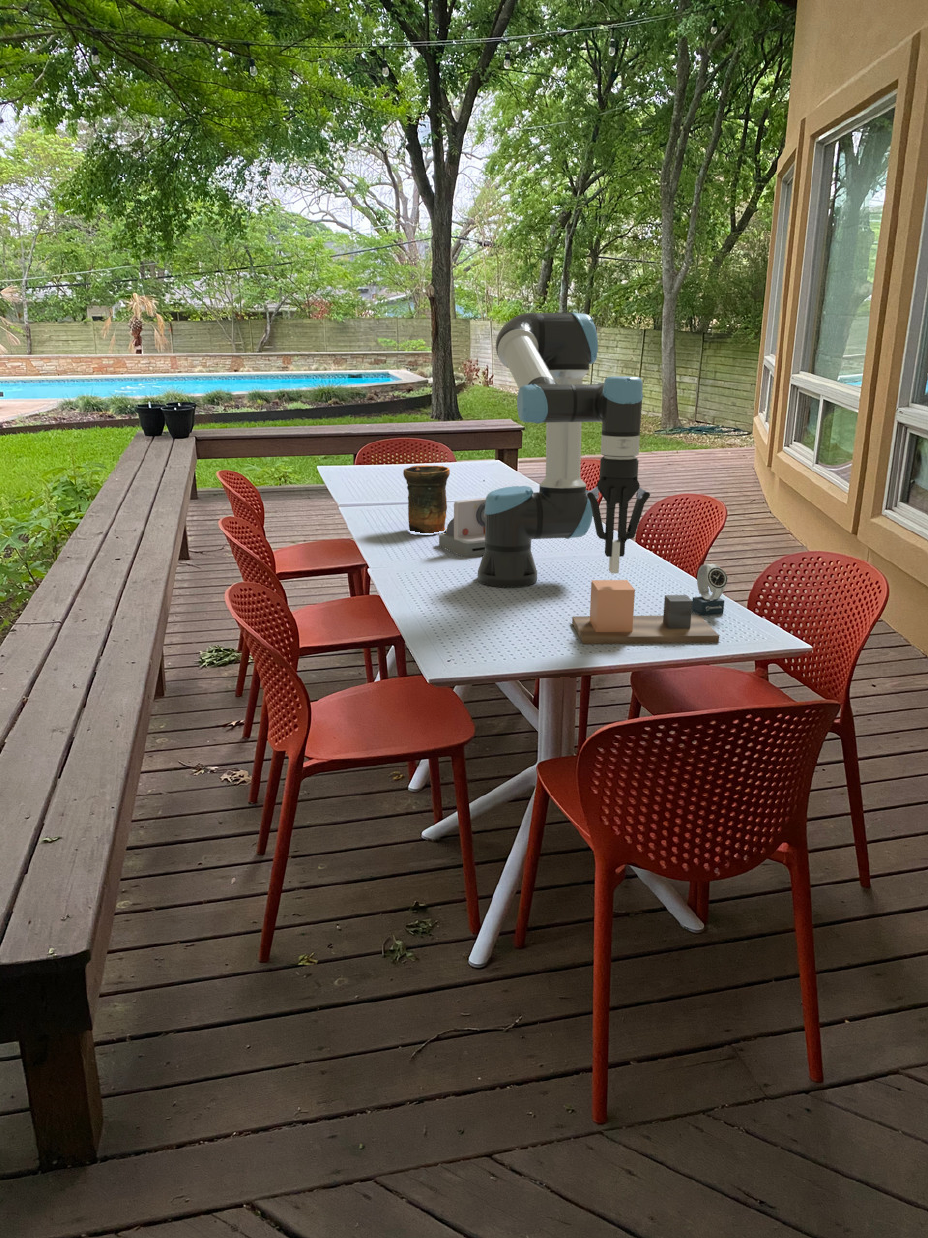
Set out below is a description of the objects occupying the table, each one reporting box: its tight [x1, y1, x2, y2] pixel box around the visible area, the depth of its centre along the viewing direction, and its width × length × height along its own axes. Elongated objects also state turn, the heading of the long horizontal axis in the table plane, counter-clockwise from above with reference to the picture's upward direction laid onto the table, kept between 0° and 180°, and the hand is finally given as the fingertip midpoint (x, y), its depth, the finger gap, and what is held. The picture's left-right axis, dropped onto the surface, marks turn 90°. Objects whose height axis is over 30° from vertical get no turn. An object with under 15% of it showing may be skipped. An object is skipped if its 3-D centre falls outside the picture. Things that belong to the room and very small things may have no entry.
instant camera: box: [438, 497, 486, 558], centre depth 268 cm, size 21×21×15 cm
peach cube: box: [589, 579, 636, 632], centre depth 193 cm, size 8×8×9 cm
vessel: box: [402, 464, 451, 533], centre depth 288 cm, size 14×14×20 cm
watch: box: [691, 563, 729, 617], centre depth 208 cm, size 6×8×11 cm
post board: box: [571, 594, 720, 645], centre depth 194 cm, size 14×28×8 cm, turn 93°
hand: (613, 571), depth 191 cm, fingers closed
